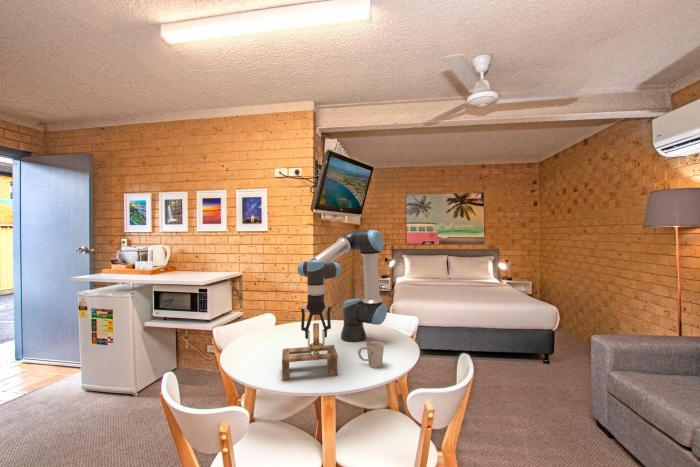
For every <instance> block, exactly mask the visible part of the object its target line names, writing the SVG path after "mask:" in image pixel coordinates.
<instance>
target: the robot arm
mask: <svg viewBox="0 0 700 467" xmlns="http://www.w3.org/2000/svg"><path fill="white" fill-rule="evenodd" d="M384 246H385V239H384V236H383V234H382V232H380V231H379V230H377V229H362V230H361V229H359V230H352V231H349V232H346V233H345V234H344V235H342V236H340V237H338V238H337V240H336V242H334V243H333V244H331V245H330V246H329V247H327V248H325V249H324V250H323V251H322V252H319V253H318V254H317V255H316V256H314V257H311V259H309V260H308V261H300V262H299V264H298V265H297V270H296V271H297V273H298V275H299V276H301V277H305V278H307V280H306V281H307V296H306V297H307V298H306V299H307V304H306V306H305V307H301V308H300V312H301V321H300V322H301V324H300V325H301V326H300V328H301V329H300V330H301V331H303V332H304V337H305V339H306V340H307V347H310V344H311V342H310V341H311V338H310V337H311V334H310V333H311V332H310V326H311V323H312V320H313V316H315V315H317V316H319V318H320V320H321V324H322V327H323V329H321V330H322V331H321V336H322V338H321V339H322V340H321V343H322V344H323V346H326V344H325V341H326V338H328V330H331V329H332V323H331V310H332V307H331V306H330V305H325V294H324V293H325V281H324V280H328V279H330V280H331V279H334V278H338V277H339V276H341V273H342V268H341V265H340V264H339V263H338V262H335V260H336V259H338V258H339V257H341V256H342V255H343V254H344V253H345V254H347V253H349V252H351V251H359V254H360V255H361V256H362V268H363V289H364V298H351V299H347V300H344V302H343V307H342V308H343V326H342V330H341V332H340V340H342V341H344V342H351V343H355V342H356V341H358V342H362V340H363V341H365V340H366V339H367V333H366V330H365V326H364V324H365V323H366V324H370V325H374V326H375V325H376V326H377V325H378V326H379V325H382V324H383V323H384V322H385V320H386V318H387V313H388V307H387V305H385V304H384V303H383V299H382V298H381V294H380V277H379V275H380V274H379V255H380V254H381V251H382V250H383V248H384ZM324 310H325V311H326V320H327V325H326V321H325V319H324V315H323V312H324ZM307 311H308V312H309V314H308V317H307V318H308V319H307V321H306V324H305V320H306V318H305V317H306V314H305V313H306V312H307ZM305 325H306V326H305ZM364 339H365V340H364ZM356 343H357V342H356Z"/></svg>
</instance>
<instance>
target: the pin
mask: <svg viewBox="0 0 700 467" xmlns="http://www.w3.org/2000/svg"><path fill="white" fill-rule="evenodd" d="M312 332H313V333H312V334H313V335H312V336H313V337H312V340H313V341H312V342H313V343H310V350H313V352H312V355H316V354H320V351H319V350H321V349H323V344H322V342H320V323H319V322H313V324H312Z"/></svg>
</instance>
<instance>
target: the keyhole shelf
mask: <svg viewBox="0 0 700 467" xmlns="http://www.w3.org/2000/svg"><path fill="white" fill-rule="evenodd" d="M281 351H282V352H281V354H282V355H281V370H282V371H281V374H282V375H281V376H282V378H281V380H282V381H289V380H290V363H296V362H308V361H320V360H323V361H324V360H327V368H328V371H329V375H330V376H331V377H332V376H338V359H339V355H338V351H337V349H336V347H335V345H334V344H329V345H325V346H323V349H321V350H319V352H321V351H322V352H324V351H325V352H326V353H319V354H316V355H313V350H310V347H308V346H304V347H290V348H282V350H281Z"/></svg>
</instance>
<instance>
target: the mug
mask: <svg viewBox="0 0 700 467" xmlns="http://www.w3.org/2000/svg"><path fill="white" fill-rule="evenodd" d="M365 345H366V346H360V347H359V349H358V351H357V356H358V357H359V359H360V360H362V361H364V362H368V366H369V367H370V368H375V369H377V368H381V367H382V366H383V357H384V349H385V343H384V342H382V341H377V340H375V341H368V342H367V343H366V344H365ZM363 350H366V353H367V358H364V357H363V356H362V355H361V353H362V351H363Z"/></svg>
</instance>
